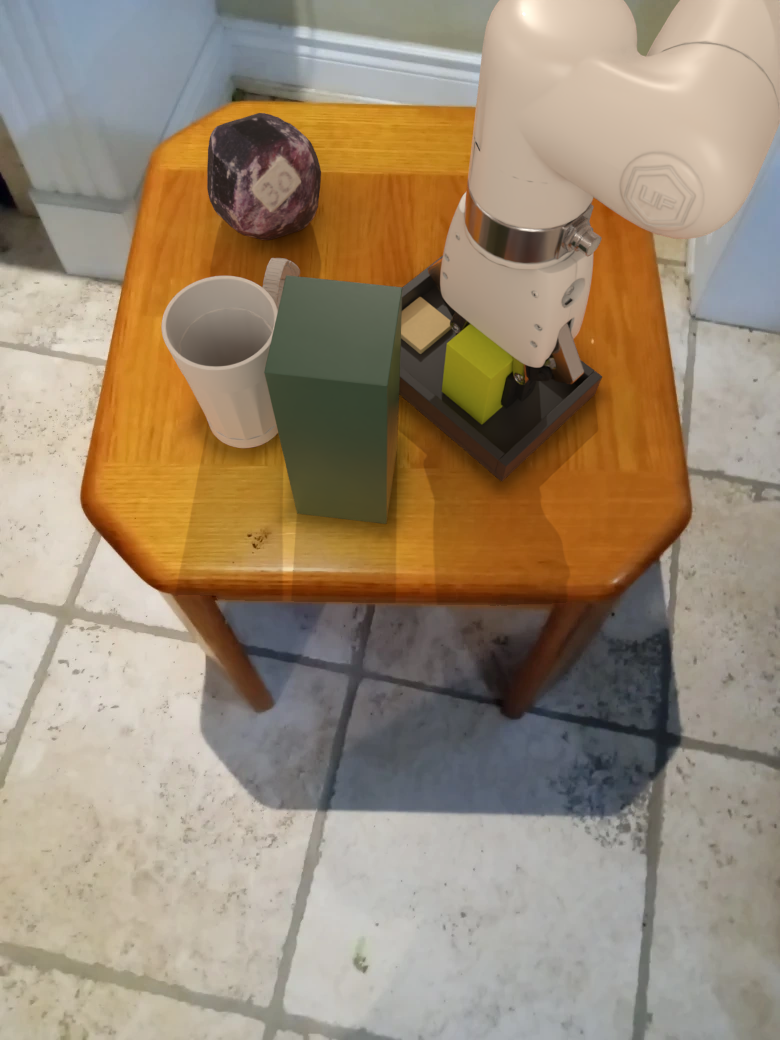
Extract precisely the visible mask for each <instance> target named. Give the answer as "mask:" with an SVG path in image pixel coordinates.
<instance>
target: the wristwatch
mask: <svg viewBox="0 0 780 1040" xmlns="http://www.w3.org/2000/svg"><path fill="white" fill-rule="evenodd" d="M286 275H289V276H298V277H300V275H301V269H300V268H299V266H298V265H297V263H295V262H293V261H292V260H290V259H288V258H285V257H284V258H283V257H271V258H270V260H269V261H268V263H267V265H266V269H265V272H264V277H263V282H262V286H261V287H262V288H263V289H265V290H266V291H267V292H268V293H269V295H270V296H271V297H272V299H273V300H274V302H275V304H276V307H277V310H278V308H279V304H280V300H281V295H282V291H283V286H284V282H285V277H286Z"/></svg>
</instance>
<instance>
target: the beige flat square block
mask: <svg viewBox="0 0 780 1040" xmlns="http://www.w3.org/2000/svg"><path fill="white" fill-rule="evenodd" d="M450 329H451V327H450V320H449V319H448V318H447V317H445V316H444V315H443V314H442V313H440V312H439V311H438V310H436V309H435V308H434V307H433V306H431V305H430V304H429V303H428V302H426V301H425V300H424V299H423V298H421V297H419V298H417V299H416V300H415V301H414V302H412V303H411V304H410V305H409V306H407V307H406V308H405V309H404V310H402V318H401V339H403V340H404V341H405V342H406V343H407V344H409V345H410V346H411V347H412V348H413V349H415V350H416V351H417V352H418V353H420V354H422V353H423V352H424V351H425V350H426V349H428V348H429V347H430V346H431V345H432V344H434V343H435V342H436V341H437V340H438V339H440V338H441V337H442V336H443V335H444V334H446V333H447V332H448V331H449V330H450Z"/></svg>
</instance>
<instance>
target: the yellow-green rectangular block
mask: <svg viewBox="0 0 780 1040" xmlns="http://www.w3.org/2000/svg"><path fill="white" fill-rule="evenodd" d="M512 371H513V362H512V356H511V355H510V354H509V353H507V352H506V351H505V350H504V349H502V348H501V347H500V346H498V345H497V344H496V343H495V342H493V341H492V340H491V339H489V338H488V337H487V336H486V335H484V334H483V333H482V332H481V331H479V330H478V329H477V328H475V327H474V326H473V325H472V324H469V325H468V326H467V327H466V328H464V329H463V330H462V331H461V332H460V333H459V334H457V335H456V336H455V337H454V338H453V339H451V340H450V341H449V342H448V343H447V347H446V356H445V365H444V374H443V383H442V392H443V393H444V394H445V395H447V396H448V397H449V398H450V399H451V400H453V401H454V402H455V403H456V404H457V405H459V406H460V407H461V408H462V409H463V410H465V411H466V412H467V413H468V414H469V415H471V416H472V417H473V418H474V419H475V420H477V421H478V422H479V423H480V424H481V425H482V424H483V423H485V422H486V421H487V420H488V419H489V418H490V417H491V416H492V415H493V414H495V413H496V412H497V411H498V410H499V409H500V408H501V407H502V405H501V398H502V394H503V390H504V385H505V381H506V378H507V376H508V375H509V374H510V373H511V372H512Z"/></svg>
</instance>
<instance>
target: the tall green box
mask: <svg viewBox="0 0 780 1040" xmlns="http://www.w3.org/2000/svg"><path fill="white" fill-rule="evenodd" d="M402 287H403V286H393V285H385V284H384V285H383V284H376V283H366V282H365V283H364V282H357V281H356V282H355V281H345V280H336V279H328V278H327V279H326V278H316V277H307V276H299V277H298V276H289V275H286V277H285V282H284V286H283V291H282V295H281V294H280V295H281V300H280V304H279V308H278V313H277V317H276V322H275V326H274V331H273V335H272V340H271V344H270V348H269V353H268V357H267V362H266V366H265V371H264V374H265V378H266V382H267V386H268V391H269V395H270V399H271V404H272V408H273V412H274V417H275V421H276V425H277V430H278V433H277V435H278V438H279V442H280V447H281V451H282V455H283V459H284V460H283V461H284V464H285V468H286V473H287V477H288V481H289V485H290V489H291V493H292V499H293V502H294V506H295V511H296V514H298V515H306V516H314V517H325V518H333V519H339V520H348V521H349V520H351V521H358V522H365V523H375V524H384V525H386V524H387V523H388V517H389V509H390V503H391V495H392V488H393V481H394V474H395V466H396V460H397V453H398V446H399V445H398V441H399V440H398V439H399V409H400V395H399V383H400V350H401V318H402Z"/></svg>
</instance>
